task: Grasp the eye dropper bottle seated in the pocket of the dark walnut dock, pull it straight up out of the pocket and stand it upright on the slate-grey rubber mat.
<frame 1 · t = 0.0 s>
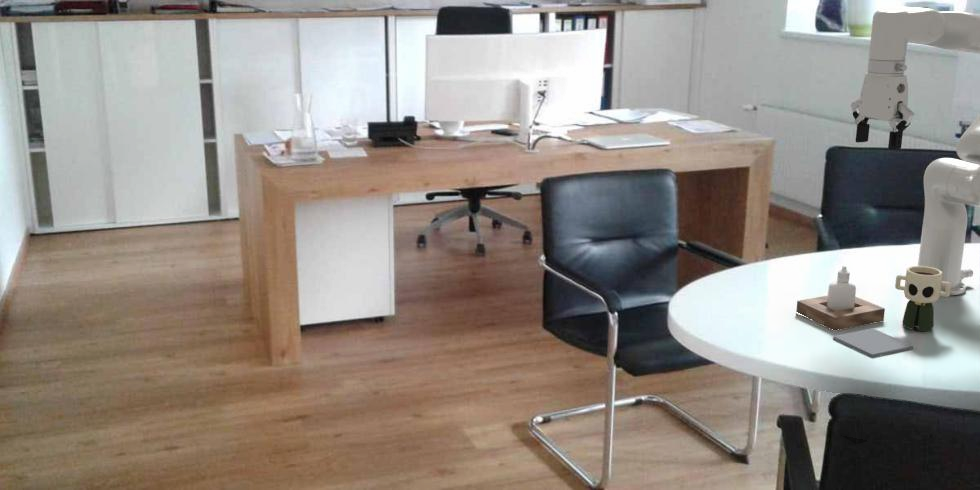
hand: (877, 145, 225), 37 cm above the table, tool pointing down, fingers open, 9 cm apart
eye dropper bottle: (839, 318, 225), resting in walnut dock
character mug: (917, 328, 219), on the table
walnut dock: (839, 317, 225), on the table
slate mat: (872, 343, 210), on the table
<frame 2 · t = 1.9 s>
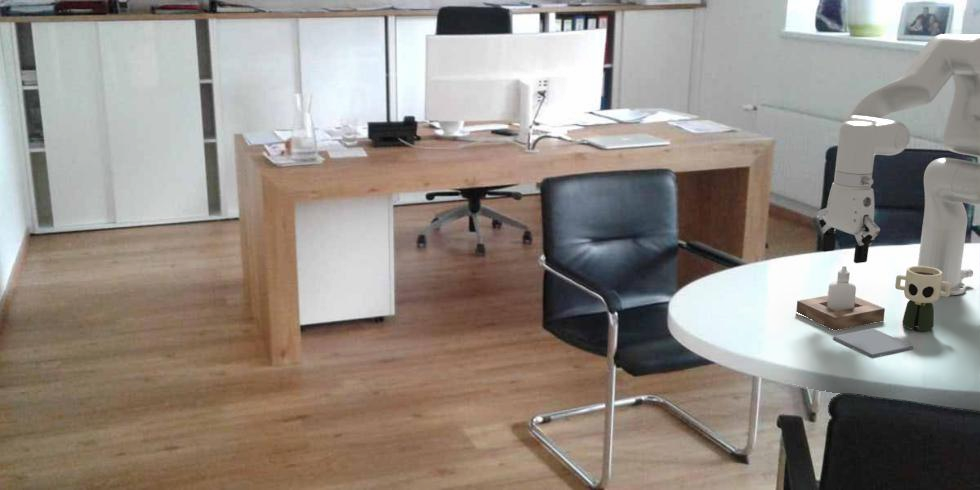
hand: (843, 256, 221), 14 cm above the table, tool pointing down, fingers open, 9 cm apart
nothing on the table moved.
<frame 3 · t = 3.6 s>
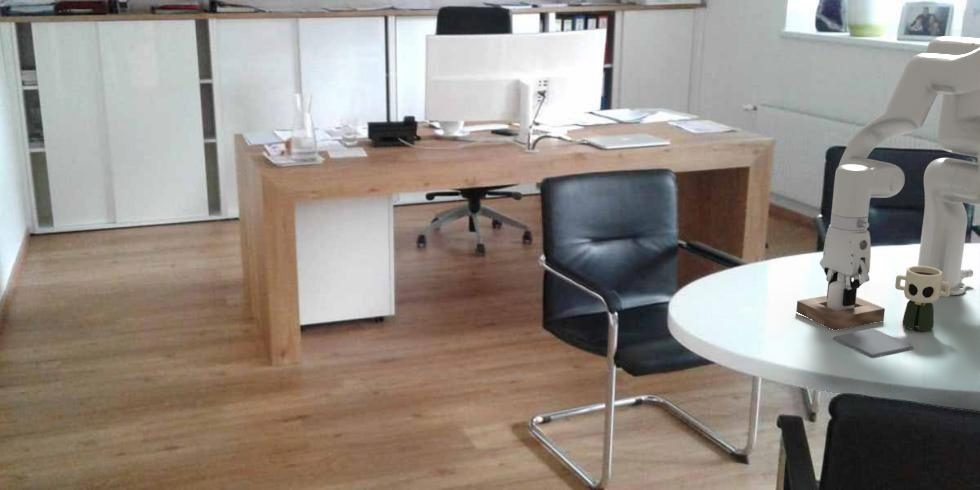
hand: (840, 301, 224), 4 cm above the table, tool pointing down, fingers closed on eye dropper bottle, 4 cm apart
eye dropper bottle: (839, 318, 225), resting in walnut dock, touching gripper
everything else where it was.
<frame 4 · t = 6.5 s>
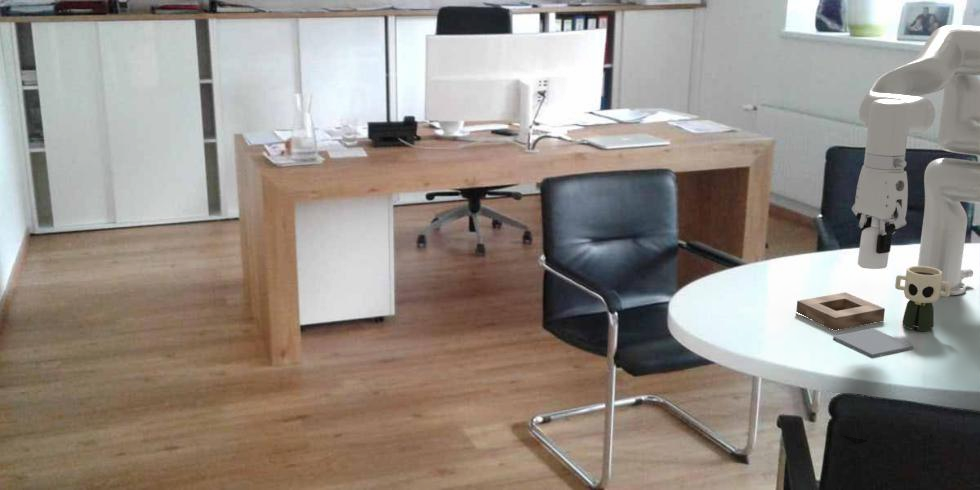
hand: (874, 248, 207), 20 cm above the table, tool pointing down, fingers closed on eye dropper bottle, 4 cm apart
eye dropper bottle: (871, 267, 209), point 16 cm above the table, touching gripper
everything else where it was.
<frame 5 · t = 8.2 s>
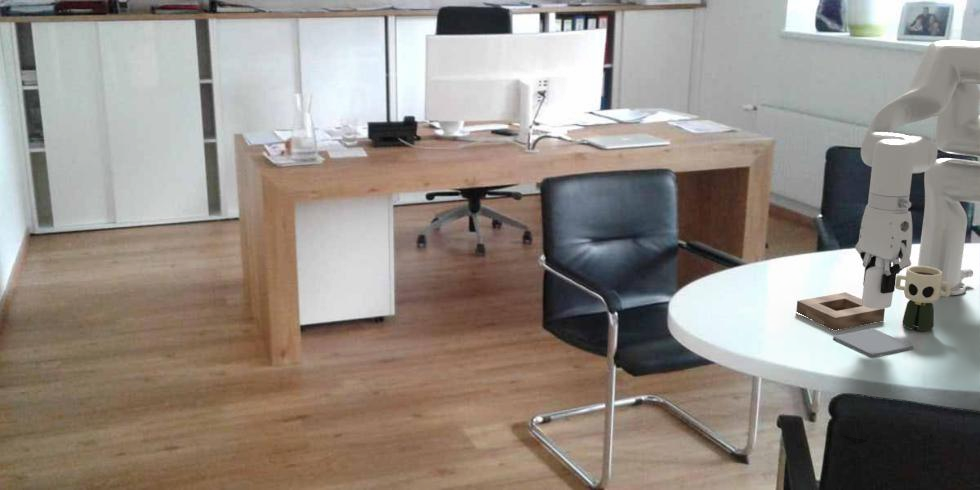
hand: (878, 288, 206), 12 cm above the table, tool pointing down, fingers closed on eye dropper bottle, 4 cm apart
eye dropper bottle: (875, 306, 208), point 8 cm above the table, touching gripper
everything else where it was.
when the fingers open (5 cm above the table, at t = 9.7 s): eye dropper bottle stays where it is, resting on slate mat.
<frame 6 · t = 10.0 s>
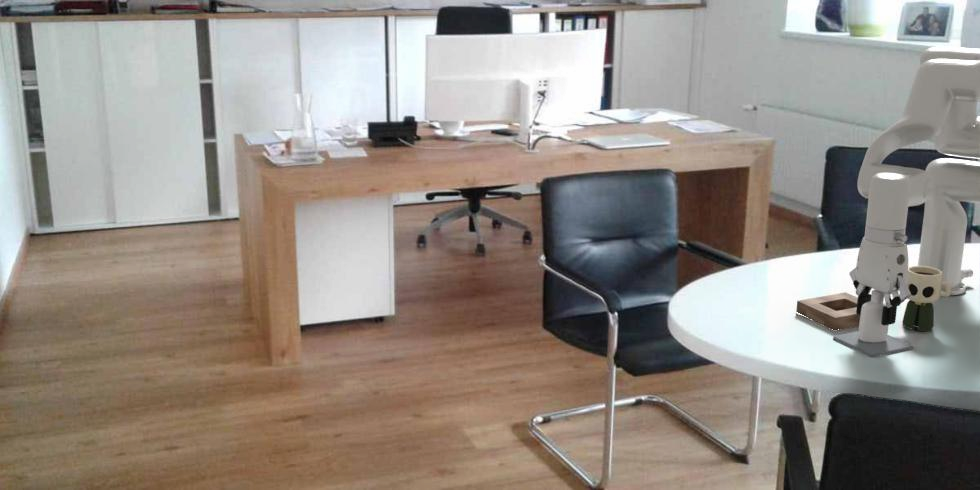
hand: (875, 317, 208), 6 cm above the table, tool pointing down, fingers open, 6 cm apart
eye dropper bottle: (871, 340, 210), resting on slate mat
everything else where it was.
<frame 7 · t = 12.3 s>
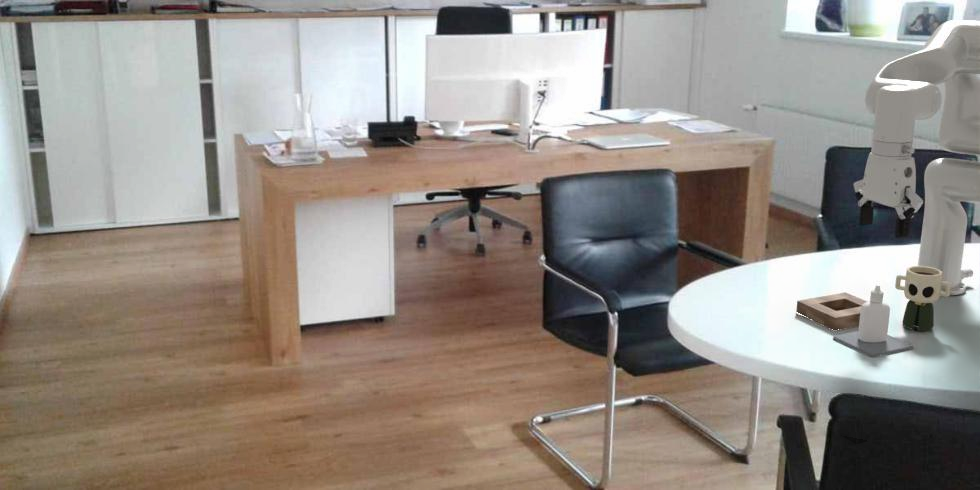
hand: (883, 230, 207), 23 cm above the table, tool pointing down, fingers open, 9 cm apart
nothing on the table moved.
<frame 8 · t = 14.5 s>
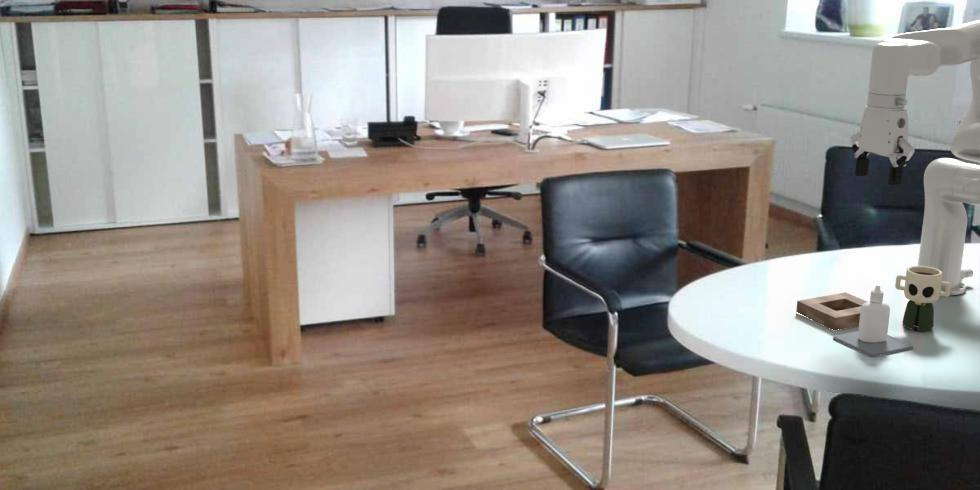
hand: (877, 179, 220), 30 cm above the table, tool pointing down, fingers open, 9 cm apart
nothing on the table moved.
at the end: eye dropper bottle 0.4 cm off-centre on the slate mat, point 0.4 cm above the slate mat's base; eye dropper bottle tilted 0°; the gripper is holding nothing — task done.
